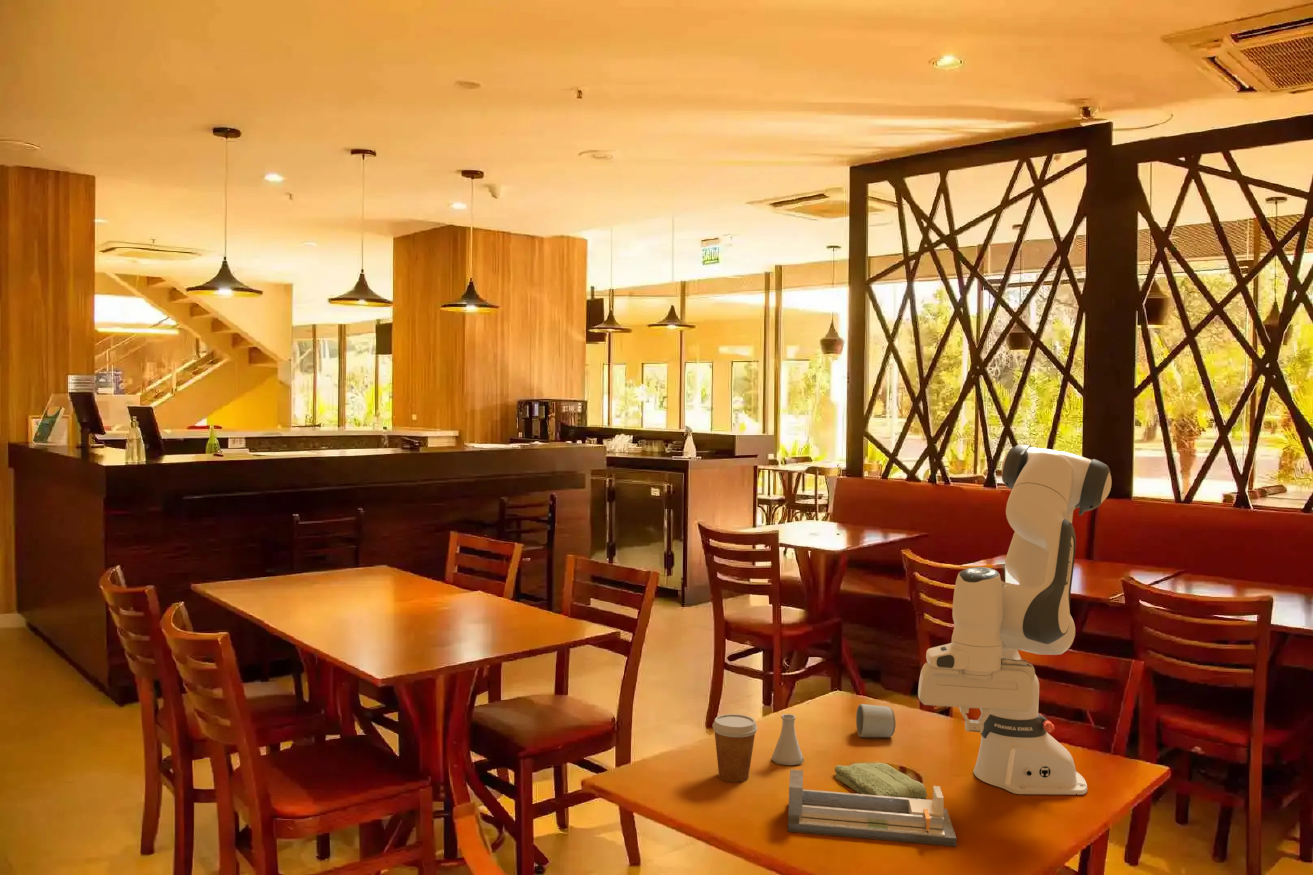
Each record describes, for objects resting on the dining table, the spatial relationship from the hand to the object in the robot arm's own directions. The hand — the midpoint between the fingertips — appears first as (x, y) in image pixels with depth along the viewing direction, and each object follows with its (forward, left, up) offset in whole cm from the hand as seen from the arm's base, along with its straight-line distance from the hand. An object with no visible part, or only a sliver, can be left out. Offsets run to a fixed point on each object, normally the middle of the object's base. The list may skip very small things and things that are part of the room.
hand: (973, 730), depth 178 cm
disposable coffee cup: (+46, -18, -19) cm, 53 cm away
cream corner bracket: (+8, +2, -17) cm, 19 cm away
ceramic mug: (+15, -52, -19) cm, 57 cm away
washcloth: (+15, -19, -20) cm, 31 cm away
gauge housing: (+19, 0, -19) cm, 27 cm away
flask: (+35, -30, -19) cm, 50 cm away
